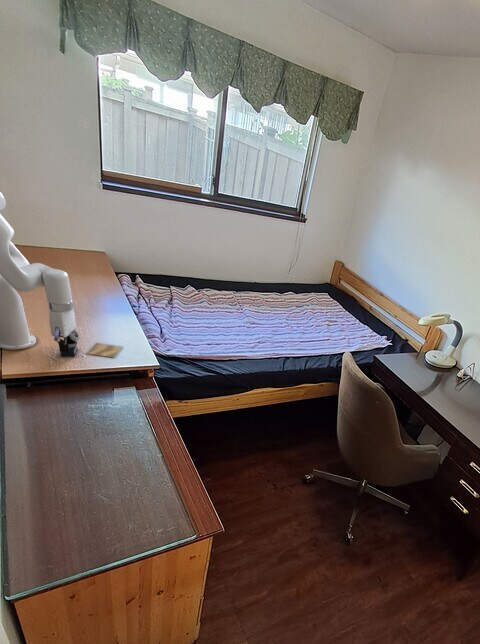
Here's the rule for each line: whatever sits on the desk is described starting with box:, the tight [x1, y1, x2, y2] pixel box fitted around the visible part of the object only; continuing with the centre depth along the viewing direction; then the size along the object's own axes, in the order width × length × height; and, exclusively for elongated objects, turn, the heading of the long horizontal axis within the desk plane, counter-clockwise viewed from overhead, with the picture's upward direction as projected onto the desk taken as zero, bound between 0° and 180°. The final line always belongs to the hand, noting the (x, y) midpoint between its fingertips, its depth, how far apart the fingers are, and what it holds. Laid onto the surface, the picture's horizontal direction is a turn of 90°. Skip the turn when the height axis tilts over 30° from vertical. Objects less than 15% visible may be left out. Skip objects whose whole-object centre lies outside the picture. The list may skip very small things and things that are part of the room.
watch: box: [53, 329, 81, 358], centre depth 147 cm, size 6×8×11 cm
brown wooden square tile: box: [87, 342, 122, 359], centre depth 157 cm, size 10×9×1 cm
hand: (68, 348), depth 148 cm, fingers closed on watch, 4 cm apart
